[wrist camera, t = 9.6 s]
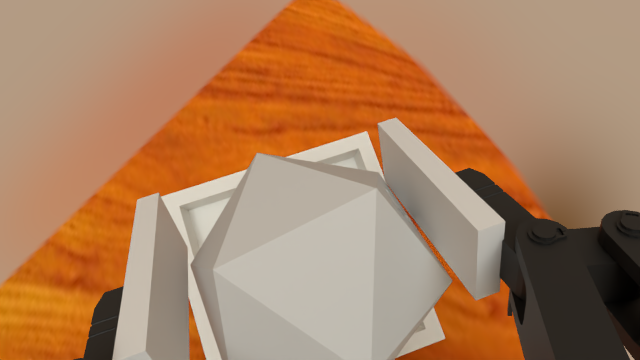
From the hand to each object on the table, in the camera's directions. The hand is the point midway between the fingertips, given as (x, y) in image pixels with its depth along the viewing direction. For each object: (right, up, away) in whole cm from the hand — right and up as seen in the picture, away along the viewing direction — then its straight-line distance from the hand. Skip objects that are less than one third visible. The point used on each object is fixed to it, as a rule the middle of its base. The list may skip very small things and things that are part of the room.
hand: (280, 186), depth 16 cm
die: (+1, -4, +3) cm, 5 cm away
